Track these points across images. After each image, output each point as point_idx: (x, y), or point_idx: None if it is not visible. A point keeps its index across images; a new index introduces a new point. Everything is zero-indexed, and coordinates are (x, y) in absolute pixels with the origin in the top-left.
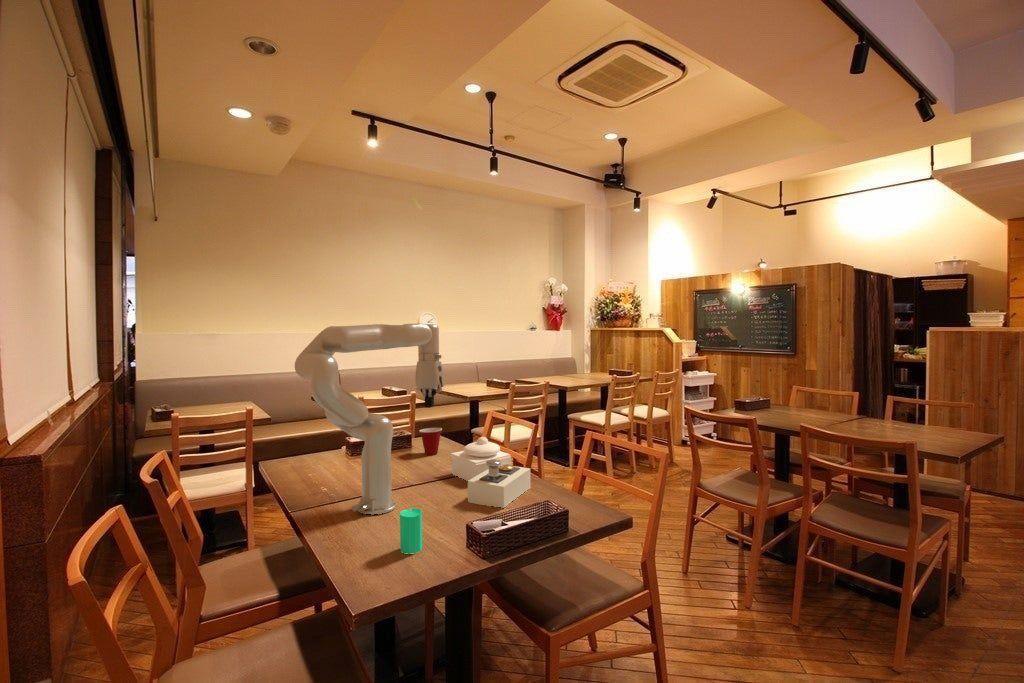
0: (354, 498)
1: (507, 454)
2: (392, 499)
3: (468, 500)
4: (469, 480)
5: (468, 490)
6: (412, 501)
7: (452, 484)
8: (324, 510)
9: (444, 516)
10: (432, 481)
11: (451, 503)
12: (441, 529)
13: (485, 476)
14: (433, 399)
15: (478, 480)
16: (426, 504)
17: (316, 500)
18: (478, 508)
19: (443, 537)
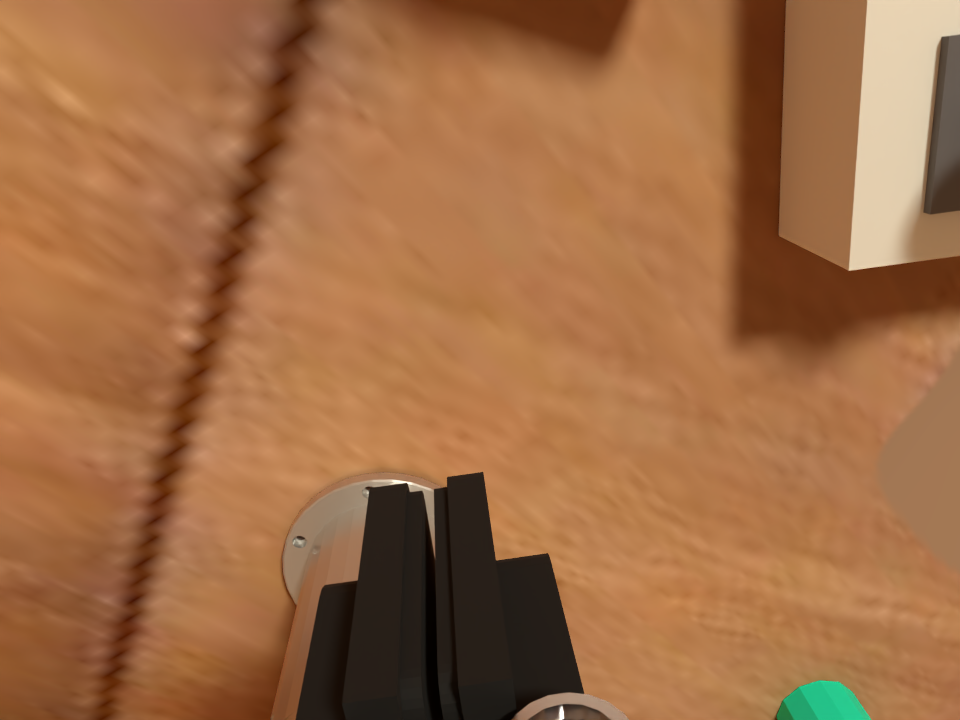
0: (159, 539)
1: None
2: (395, 483)
3: (787, 238)
4: (855, 256)
5: (818, 252)
6: (475, 400)
7: (484, 9)
8: (194, 694)
9: (762, 450)
10: (301, 40)
11: (697, 302)
12: (828, 551)
13: (954, 141)
14: (573, 665)
15: (919, 220)
16: (577, 389)
17: (24, 653)
18: (879, 276)
19: (875, 594)
